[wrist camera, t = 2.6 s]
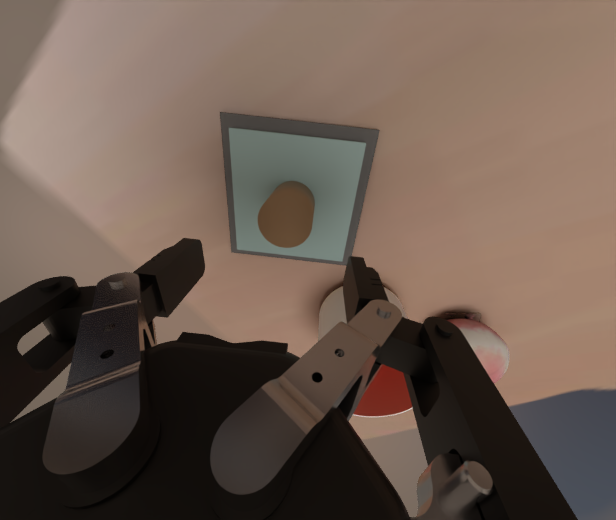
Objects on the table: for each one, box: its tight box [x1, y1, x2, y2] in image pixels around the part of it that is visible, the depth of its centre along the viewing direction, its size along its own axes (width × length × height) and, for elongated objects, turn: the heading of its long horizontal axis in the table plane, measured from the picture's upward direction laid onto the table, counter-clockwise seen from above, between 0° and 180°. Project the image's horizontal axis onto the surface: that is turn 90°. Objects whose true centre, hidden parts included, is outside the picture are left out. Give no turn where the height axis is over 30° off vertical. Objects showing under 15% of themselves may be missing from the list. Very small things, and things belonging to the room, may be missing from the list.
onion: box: [445, 313, 509, 383], centre depth 26 cm, size 8×8×7 cm
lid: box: [229, 128, 366, 262], centre depth 19 cm, size 11×11×6 cm
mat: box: [220, 112, 379, 266], centre depth 22 cm, size 13×13×1 cm
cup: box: [318, 286, 413, 417], centre depth 24 cm, size 10×10×10 cm
